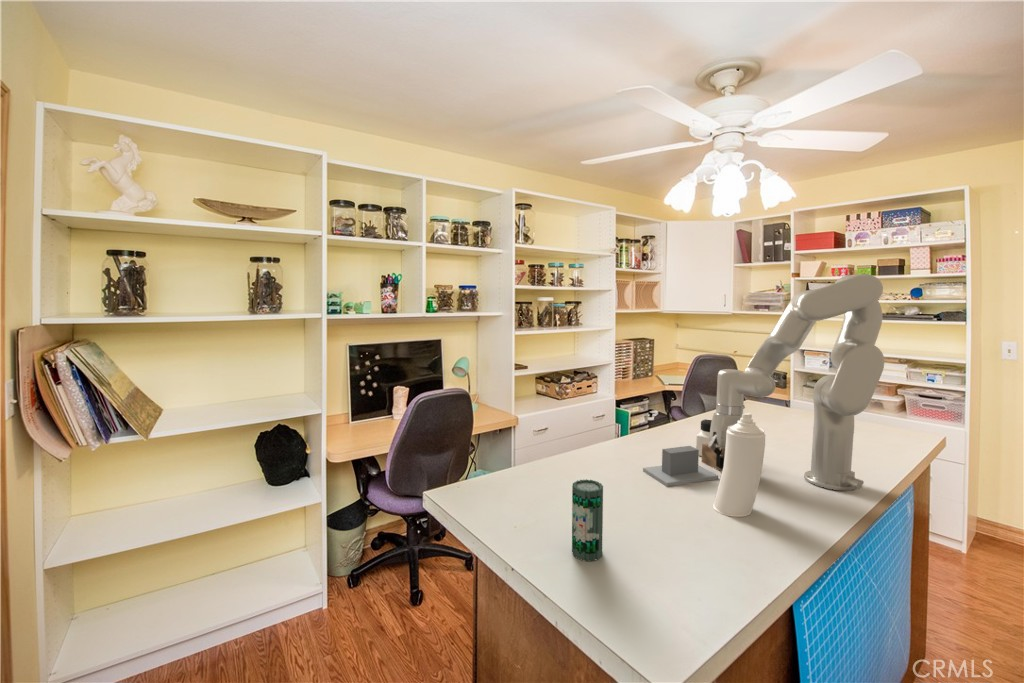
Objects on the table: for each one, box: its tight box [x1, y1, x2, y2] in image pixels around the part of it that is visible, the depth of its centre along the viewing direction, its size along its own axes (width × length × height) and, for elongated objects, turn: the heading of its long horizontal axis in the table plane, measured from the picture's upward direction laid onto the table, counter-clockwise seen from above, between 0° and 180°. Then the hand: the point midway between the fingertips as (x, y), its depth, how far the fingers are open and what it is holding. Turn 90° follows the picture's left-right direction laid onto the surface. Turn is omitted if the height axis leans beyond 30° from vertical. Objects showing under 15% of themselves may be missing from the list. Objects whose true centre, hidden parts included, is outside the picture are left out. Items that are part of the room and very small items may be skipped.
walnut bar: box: [701, 443, 725, 472], centre depth 141 cm, size 18×4×6 cm, turn 17°
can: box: [571, 478, 604, 562], centre depth 96 cm, size 6×6×15 cm
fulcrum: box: [642, 445, 719, 487], centre depth 138 cm, size 12×18×8 cm, turn 107°
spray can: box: [712, 412, 766, 518], centre depth 115 cm, size 12×11×25 cm
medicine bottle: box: [695, 418, 712, 457], centre depth 155 cm, size 7×7×12 cm
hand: (726, 466), depth 141 cm, fingers closed on walnut bar, 4 cm apart
